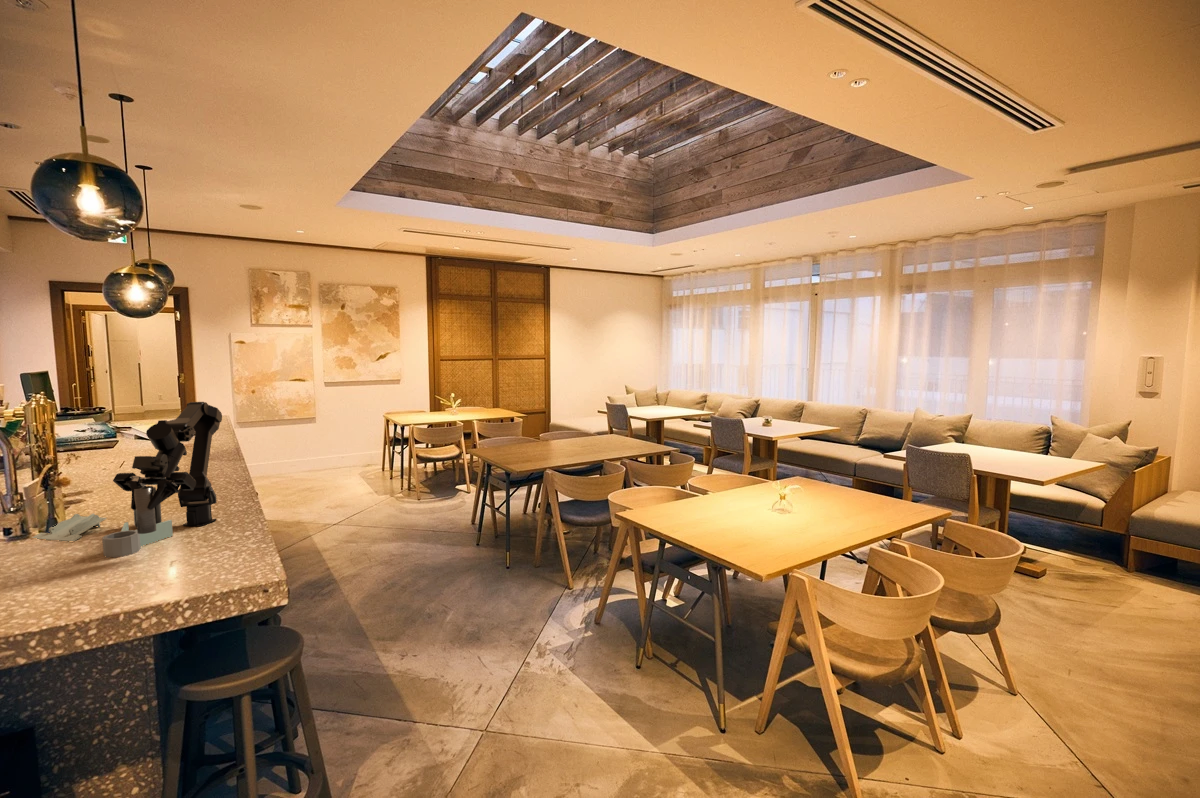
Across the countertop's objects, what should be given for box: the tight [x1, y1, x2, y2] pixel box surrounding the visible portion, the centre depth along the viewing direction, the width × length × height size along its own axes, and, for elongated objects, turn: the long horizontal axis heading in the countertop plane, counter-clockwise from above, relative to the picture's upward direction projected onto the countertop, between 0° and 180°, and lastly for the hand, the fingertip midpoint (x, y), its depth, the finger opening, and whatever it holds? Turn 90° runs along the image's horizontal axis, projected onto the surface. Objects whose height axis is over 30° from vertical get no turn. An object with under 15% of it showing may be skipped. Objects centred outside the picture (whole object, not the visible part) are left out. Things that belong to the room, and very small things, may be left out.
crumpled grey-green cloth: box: [31, 512, 108, 542], centre depth 172 cm, size 14×6×15 cm
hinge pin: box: [134, 485, 156, 534], centre depth 152 cm, size 4×4×12 cm
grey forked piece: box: [101, 519, 174, 558], centre depth 161 cm, size 18×13×5 cm
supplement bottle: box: [133, 486, 163, 529], centre depth 180 cm, size 7×7×12 cm
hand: (141, 509), depth 151 cm, fingers closed on hinge pin, 4 cm apart
